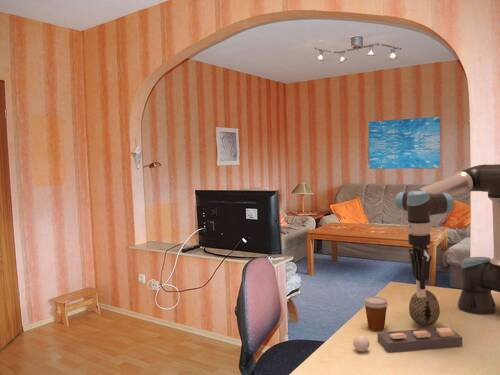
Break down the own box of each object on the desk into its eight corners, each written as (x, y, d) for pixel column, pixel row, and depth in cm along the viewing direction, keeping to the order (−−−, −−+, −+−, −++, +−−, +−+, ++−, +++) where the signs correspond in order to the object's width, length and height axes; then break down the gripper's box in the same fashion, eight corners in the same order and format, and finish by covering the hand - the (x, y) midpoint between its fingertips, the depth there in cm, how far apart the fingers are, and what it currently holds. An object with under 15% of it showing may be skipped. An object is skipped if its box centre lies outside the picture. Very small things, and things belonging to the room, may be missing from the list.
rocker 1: (402, 335, 163) (402, 332, 164) (406, 337, 160) (406, 334, 160) (389, 336, 163) (388, 333, 163) (393, 338, 159) (393, 335, 159)
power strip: (448, 335, 171) (447, 326, 170) (462, 346, 161) (462, 336, 160) (377, 341, 168) (377, 332, 168) (387, 352, 159) (387, 342, 158)
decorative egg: (407, 320, 188) (406, 285, 187) (436, 320, 186) (435, 285, 185) (412, 330, 177) (411, 294, 176) (443, 331, 174) (442, 294, 173)
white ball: (366, 355, 157) (366, 340, 157) (351, 352, 160) (351, 337, 160) (373, 347, 164) (372, 332, 163) (358, 344, 167) (357, 329, 166)
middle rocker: (425, 333, 164) (425, 330, 164) (430, 336, 160) (430, 333, 160) (412, 334, 164) (412, 331, 164) (417, 337, 160) (417, 334, 160)
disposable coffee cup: (389, 333, 175) (389, 304, 174) (365, 332, 177) (364, 303, 176) (387, 324, 184) (386, 296, 184) (363, 323, 186) (363, 295, 186)
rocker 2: (448, 329, 165) (448, 327, 165) (454, 336, 161) (454, 333, 161) (435, 330, 165) (436, 328, 164) (441, 337, 161) (441, 334, 160)
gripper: (401, 231, 166) (403, 292, 168) (417, 237, 153) (419, 303, 155) (420, 229, 167) (422, 290, 169) (438, 236, 154) (440, 301, 156)
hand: (421, 296), depth 162 cm, fingers closed
